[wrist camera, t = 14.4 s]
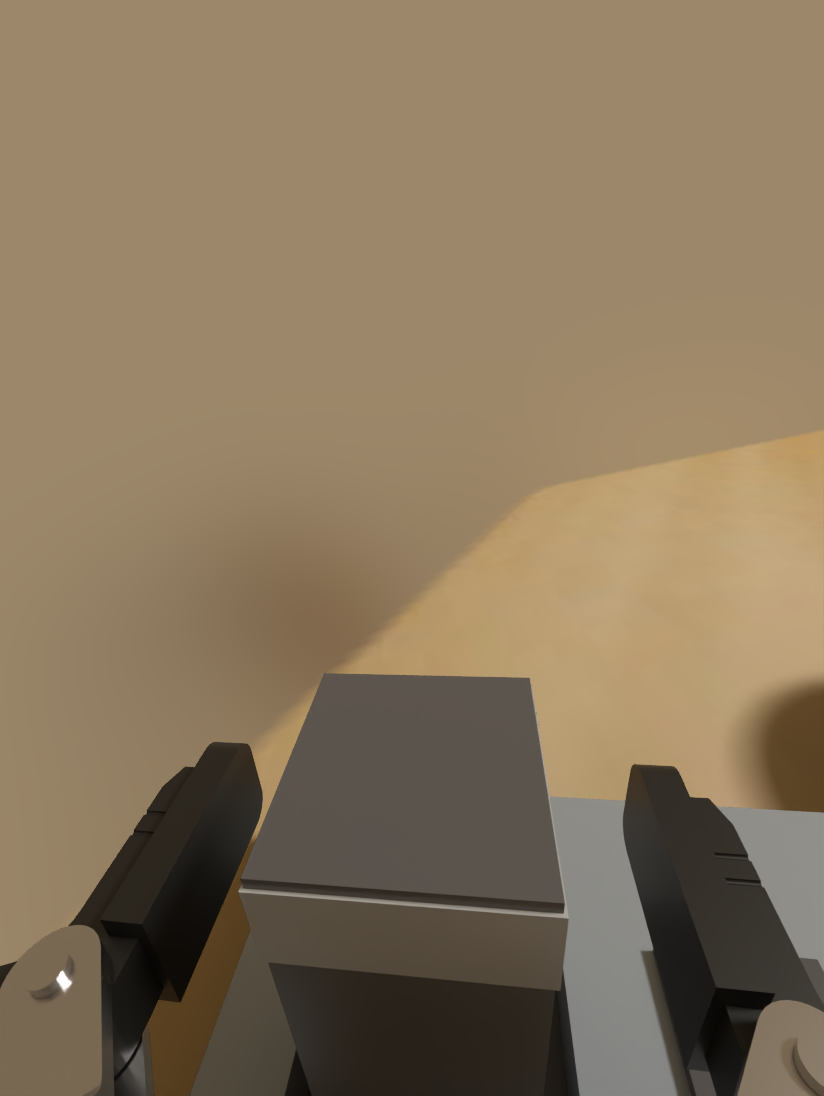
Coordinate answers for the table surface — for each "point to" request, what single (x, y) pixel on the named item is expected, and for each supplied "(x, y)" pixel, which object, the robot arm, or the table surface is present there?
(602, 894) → the power strip
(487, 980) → the plug
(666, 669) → the table surface
